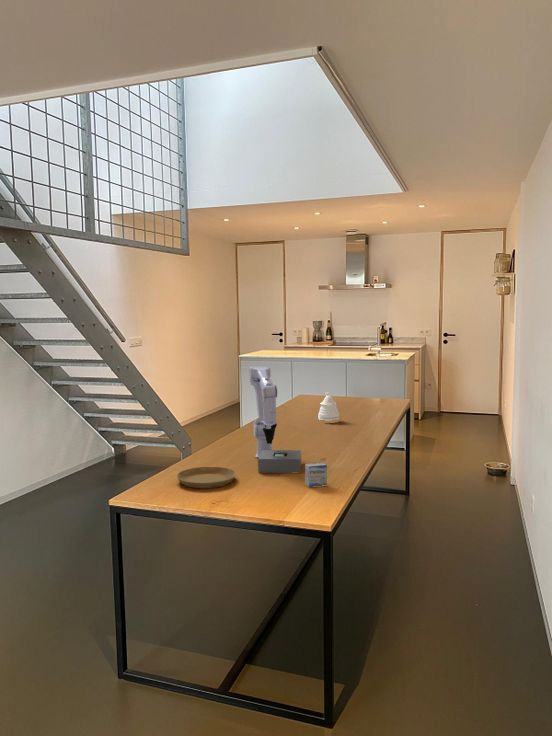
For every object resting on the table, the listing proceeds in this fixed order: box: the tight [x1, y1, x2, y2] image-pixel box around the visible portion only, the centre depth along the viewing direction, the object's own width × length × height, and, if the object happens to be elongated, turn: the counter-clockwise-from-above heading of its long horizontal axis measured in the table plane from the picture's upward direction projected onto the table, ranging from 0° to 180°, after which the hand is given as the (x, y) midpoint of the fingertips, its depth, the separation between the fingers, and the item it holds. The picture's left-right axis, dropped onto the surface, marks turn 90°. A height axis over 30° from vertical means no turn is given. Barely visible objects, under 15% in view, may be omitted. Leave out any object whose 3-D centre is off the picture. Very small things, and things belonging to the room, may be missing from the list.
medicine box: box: [304, 462, 328, 488], centre depth 229 cm, size 8×4×9 cm, turn 105°
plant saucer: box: [176, 466, 237, 489], centre depth 237 cm, size 24×24×3 cm
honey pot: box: [317, 392, 340, 421], centre depth 356 cm, size 13×13×18 cm
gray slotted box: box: [257, 449, 302, 474], centre depth 255 cm, size 16×18×6 cm
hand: (270, 441), depth 260 cm, fingers open, 7 cm apart
